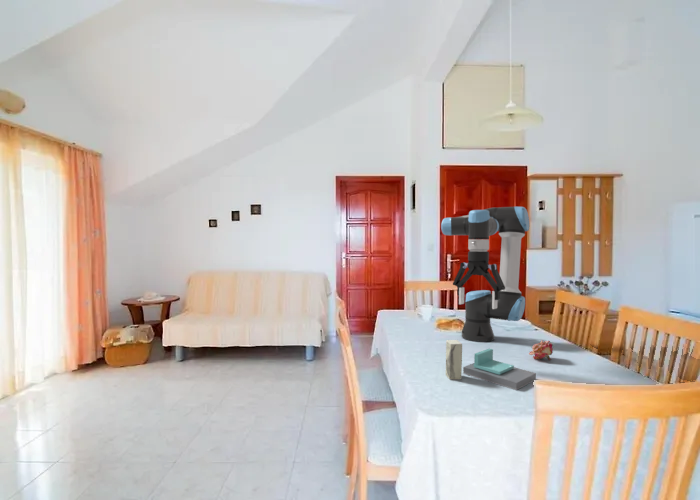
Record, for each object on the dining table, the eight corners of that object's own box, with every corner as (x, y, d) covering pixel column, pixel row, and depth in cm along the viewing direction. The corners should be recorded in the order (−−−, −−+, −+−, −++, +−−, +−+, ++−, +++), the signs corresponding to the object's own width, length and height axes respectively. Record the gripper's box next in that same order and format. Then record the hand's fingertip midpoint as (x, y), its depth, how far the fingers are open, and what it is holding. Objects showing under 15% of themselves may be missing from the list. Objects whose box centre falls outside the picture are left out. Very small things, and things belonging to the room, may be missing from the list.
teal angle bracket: (473, 367, 141) (473, 353, 141) (488, 361, 148) (488, 348, 148) (499, 374, 134) (499, 360, 134) (513, 368, 140) (514, 354, 140)
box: (445, 374, 141) (445, 339, 141) (456, 374, 141) (457, 339, 141) (450, 380, 136) (450, 343, 135) (462, 379, 136) (462, 343, 136)
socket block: (463, 373, 143) (463, 367, 142) (484, 365, 152) (484, 359, 151) (516, 390, 127) (516, 382, 127) (535, 379, 136) (536, 373, 136)
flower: (557, 353, 160) (545, 336, 163) (562, 355, 152) (548, 337, 154) (536, 365, 162) (524, 348, 164) (539, 368, 153) (527, 350, 156)
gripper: (444, 250, 155) (443, 303, 155) (506, 251, 137) (505, 312, 137) (454, 249, 160) (453, 301, 161) (515, 251, 142) (514, 309, 143)
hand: (477, 306), depth 149 cm, fingers open, 13 cm apart
